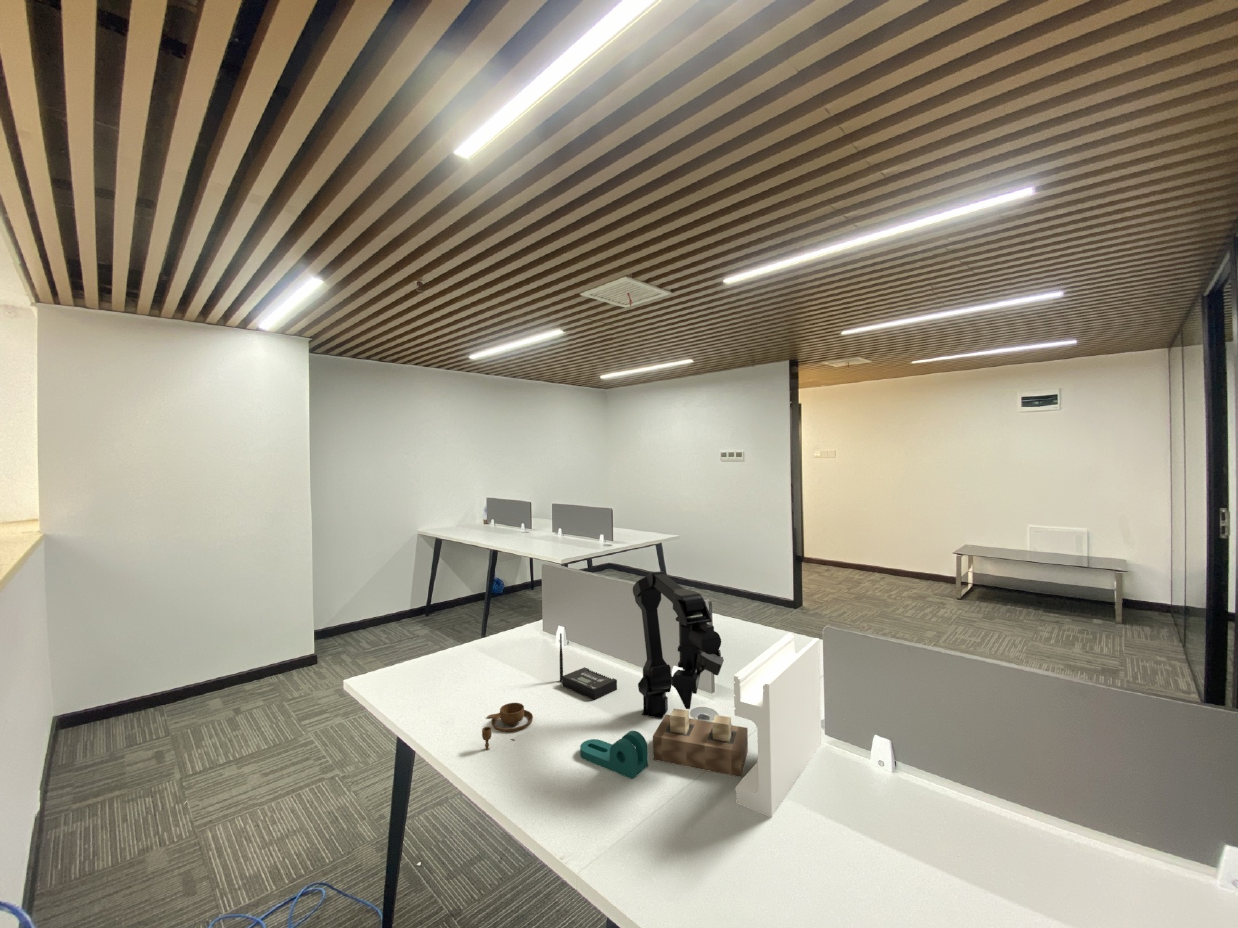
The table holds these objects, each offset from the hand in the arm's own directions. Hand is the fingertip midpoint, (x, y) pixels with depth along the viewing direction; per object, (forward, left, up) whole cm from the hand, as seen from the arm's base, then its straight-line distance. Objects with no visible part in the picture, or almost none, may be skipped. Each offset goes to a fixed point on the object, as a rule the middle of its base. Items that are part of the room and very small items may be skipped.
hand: (691, 700), depth 135 cm
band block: (+3, -3, -12) cm, 13 cm away
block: (+23, -3, -13) cm, 26 cm away
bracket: (-18, -13, -13) cm, 25 cm away
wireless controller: (-43, +25, -13) cm, 52 cm away
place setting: (-54, -8, -13) cm, 56 cm away
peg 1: (-2, -3, -8) cm, 9 cm away
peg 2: (+9, -3, -8) cm, 12 cm away
